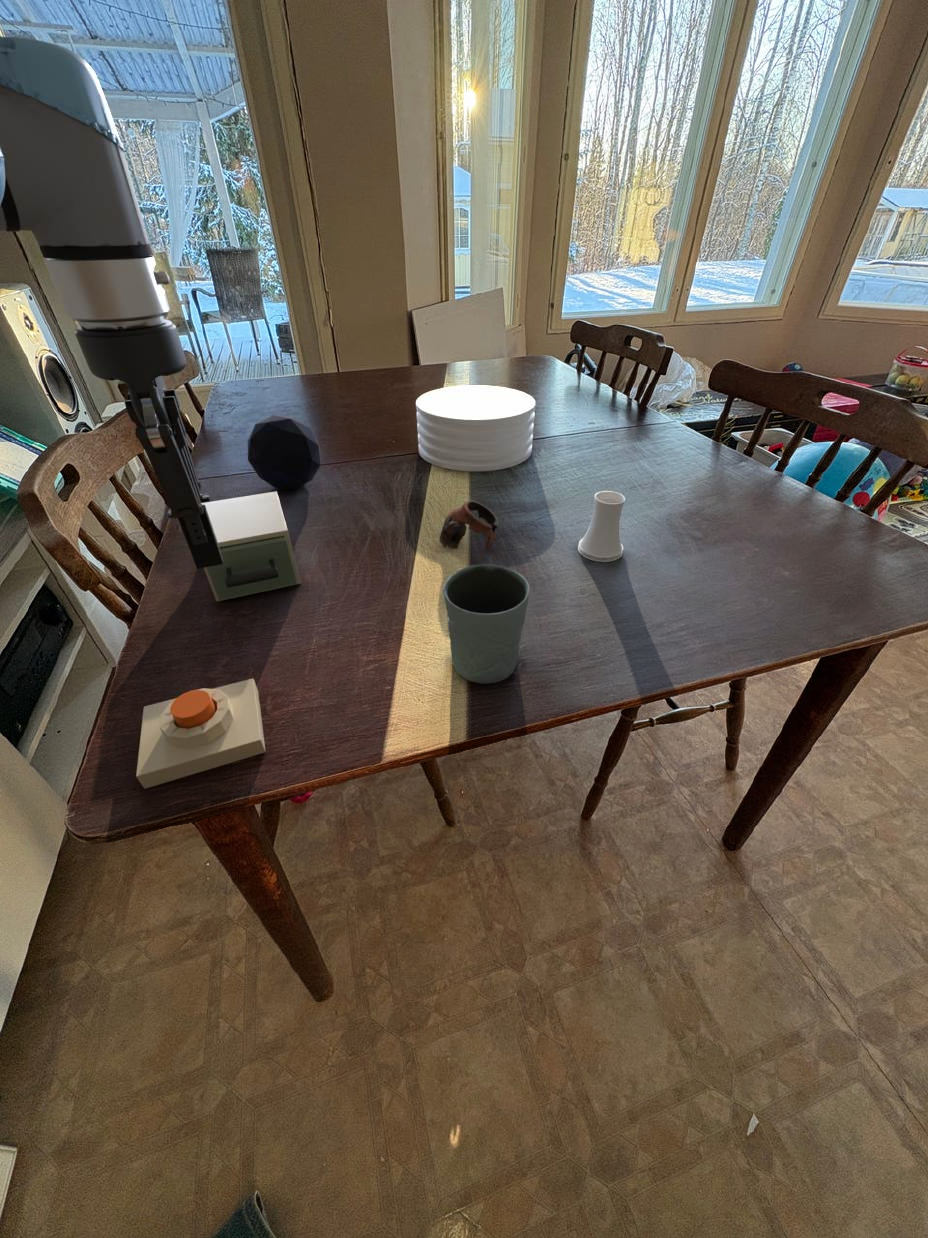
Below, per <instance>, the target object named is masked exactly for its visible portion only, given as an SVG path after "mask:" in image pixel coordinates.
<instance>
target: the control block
mask: <svg viewBox="0 0 928 1238" xmlns="http://www.w3.org/2000/svg"><path fill="white" fill-rule="evenodd" d="M258 689H259V688H258V686H257V685H256V681H255V679H254V678H253V677H252V678H249V679H246V680H242V681H237V682H234V683H233V682H232V683H229V684H226V685H221V686H218V687H214V688H207V687H205V688H199V689H198V690H203V691H206V692H208V693H209V694H210V696H211V698H212V701H213V703H214V705H215V708H216V709H215V713H214V715H213V717H212V718H211V719H210V720H209V721H207V722H206V723H204V724H203V725H201V726H197V727H194V728H190V729H186V728H182V727H180V726H178V724H177V723H176V721H175V719H174V717H173V716H172V714H171V711H170V708H171V705H172V703H173V702H174V700H175V699H176V698H173V699H168V700H165V701H160V702H157V703H153V704H149V705H145V706H143V709H142V710H143V711H142V718H141V719H142V720H141V731H140V737H139V740H140V741H139V748H138V756H137V765H136V772H135V773H136V775H135V778H136V779H137V780H138V781H139V783H140V784H141V786H142V787H143V789H144V790H146V789H149V788H153V787H155V786H159V785H162V784H165V783H169V782H172V781H176V780H178V779H182V778H185V777H189V776H192V775H195V774H198V773H203V772H205V771H208V770H212V769H214V768H215V769H216V768H219V767H222V766H226V765H228V764H231V763H235V762H239V761H242V760H244V759H249V758H252V757H255V756H258V755H261V754H265V753H266V744H265V736H264V726H263V721H262V719H263V718H262V711H261V704H260V696H259V690H258Z"/></svg>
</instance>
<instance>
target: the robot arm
mask: <svg viewBox="0 0 928 1238" xmlns="http://www.w3.org/2000/svg"><path fill="white" fill-rule="evenodd" d="M122 142H123V141H121V138H120V136H119V133H118V130H117V126H116V124H115V121H114V117H113V116H112V112H111V109H110V107H109V104H108V101H107V98H106V97H105V93H104V91H103V88H102V86H101V83H100V80H99V78H98V76H97V74H96V72H95V70H94V69H93V68H92V66H91V65H90V64H89V63H88V62H87V61H86V59H85V58H83V57H82V56H80V55H79V54H78V53H77V52H75V51H74V50H71V49H69V48H66V47H64V46H61V45H58V44H55V43H51V42H47V41H43V40H40V39H34V38H28V37H22V36H21V37H20V36H1V35H0V232H8V233H11V232H13V233H14V232H17V233H18V232H20V231H28V232H29V231H30V232H31V233H32V235H33V237H34V238H35V240H36V242H37V244H38V247H39V250H40V253H41V255H42V257H43V261H44V264H45V267H46V269H47V271H48V274H49V277H50V279H51V281H52V283H53V286H54V288H55V291H56V294H57V296H58V298H59V301H60V304H61V306H62V308H63V311H64V313H65V316H66V317H67V318H68V319H71V321H73V322H77V323H78V326H76V327H75V331H74V336H75V338H76V340H77V342H78V343H77V344H78V345H79V347H80V350H81V352H82V355H83V357H84V360H85V362H86V364H87V367H88V369H89V371H90V373H91V374H92V375H93V376H95V377H96V378H98V379H101V380H104V381H111V382H112V381H120V382H122V383H124V384H125V385H126V387H127V392H128V393H126V397H127V400H124V405H125V409H126V412H127V414H128V417H129V420H130V421H131V422H132V423H134V424H135V426H136V427H135V429H134V430H135V432H134V434H135V438H136V439H137V440H138V441H139V444H140V445H141V447H142V449H143V451H144V452H145V454H146V456H147V458H148V461H149V463H150V465H151V467H152V470H153V472H154V474H155V477H156V479H157V481H158V483H159V487H160V488H161V490H162V493H163V495H164V497H165V500H166V501H167V504H168V506H169V509H168V510H167V517H168V519H175V520H178V522H179V525H180V528H181V530H182V533H183V537H184V538H185V541H186V543H187V546H188V548H189V551H190V554H191V556H192V559H193V562H194V564H195V567H196V569H197V570H199V569H204V568H205V567H210V566H216V565H221V564H223V557H222V554H221V551H220V548H219V545H218V542H217V539H216V536H215V533H214V530H213V527H212V524H211V521H210V518H209V515H208V512H207V509H206V506H205V505H203V504H201V503H206V502H212V500H211V496H210V493H203V494H202V493H201V490H202V484H201V482H200V481H199V479H198V478H199V477H198V476H197V472H196V469H195V466H194V462H193V459H192V455H191V452H190V449H189V445H188V442H187V439H186V428H185V425H184V423H183V418H182V416H181V413H180V401H179V398H178V395H177V391H176V390H175V389H174V388H173V389H167V386H166V383H165V379H164V377H168V376H172V375H176V374H178V373H180V372H182V371H183V370H184V369H185V368H186V367H187V359H186V355H185V352H184V349H183V345H182V342H181V338H180V335H179V331H178V329H177V326H176V325H177V324H175V323H173V322H172V321H171V320H169V319H165V316H167V315H168V314H169V312H170V311H171V308H170V304H169V300H168V298H167V294H166V291H165V290H164V288H163V287H162V286H168V285H169V284H170V282H171V279H170V276H169V275H168V273H167V271H166V270H165V271H164V270H155V266H156V265H157V263H156V259H155V257H154V251H153V249H152V246H151V243H150V240H149V236H148V233H147V229H146V226H145V222H144V219H143V216H142V212H141V208H140V205H139V201H138V197H137V194H136V191H135V187H134V184H133V179H132V177H131V173H130V170H129V166H128V162H127V159H126V155H125V152H126V150H125V147H124V144H123V143H122Z"/></svg>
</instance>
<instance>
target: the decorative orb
mask: <svg viewBox="0 0 928 1238" xmlns="http://www.w3.org/2000/svg"><path fill="white" fill-rule="evenodd" d="M247 462H248V463H249V464H250V466H251V467H252V469H253V470H254V472H255V473H256V475H257V476H258V477H259V479H261V481H264V482H265V483H267V484H269V485H270V486H271V487H273V488H274V489H285V490H286V489H287V490H297V489H298V488H300V487H303V486H305V485H306V484H308V483H309V482H311V481H312V480H313V479H314V478H315V476H316V474H317V473H318V472H319V469H320V467H321V465H322V464H321V446H320V444H319V442H318V440H317V438H316V436H315V434H314V432H313V430H312V428H311V427H310V426H308V425H307V424H305V423H303V422H302V421H300V420H299V419H297V418H296V417H292V416H285V415H276V414H272V415H271V416H269V417H267V418H264V419H263V420H261V421H259V422H257V423H255V424H254V426H253V428H252V430H251V433H250V435H249V437H248V439H247Z"/></svg>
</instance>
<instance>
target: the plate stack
mask: <svg viewBox="0 0 928 1238" xmlns="http://www.w3.org/2000/svg"><path fill="white" fill-rule="evenodd" d="M415 409H416V422H417V423H416V429H417V443H418V454H419V455H420V457H421V458H422V459H423V460H424V461H425V462H427V463H429V464H431V465H433V466H436V467H438V468H443V469H446V470H452V471H460V472H491V471H499V470H504V469H508V468H512V467H514V466H518V465H520V464H522V463H523V462H525V461H527V460H528V459H529V458H530V457H531V455H532V451H533V441H534V434H533V433H534V428H535V427H534V426H535V424H534V422H535V416H536V415H535V410H536V400H535V398H534V397H533V396H532V395H530V394H528V393H526V392H524V391H521V390H518V389H516V388H515V389H514V388H510V387H505V386H497V385H483V384H482V385H481V384H473V385H472V384H471V385H470V384H468V385H455V386H447V387H441V388H436V389H433V390H430V391H428V392H425V393H423V394H421V395H420V396H418V397H417V399H416V400H415Z"/></svg>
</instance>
